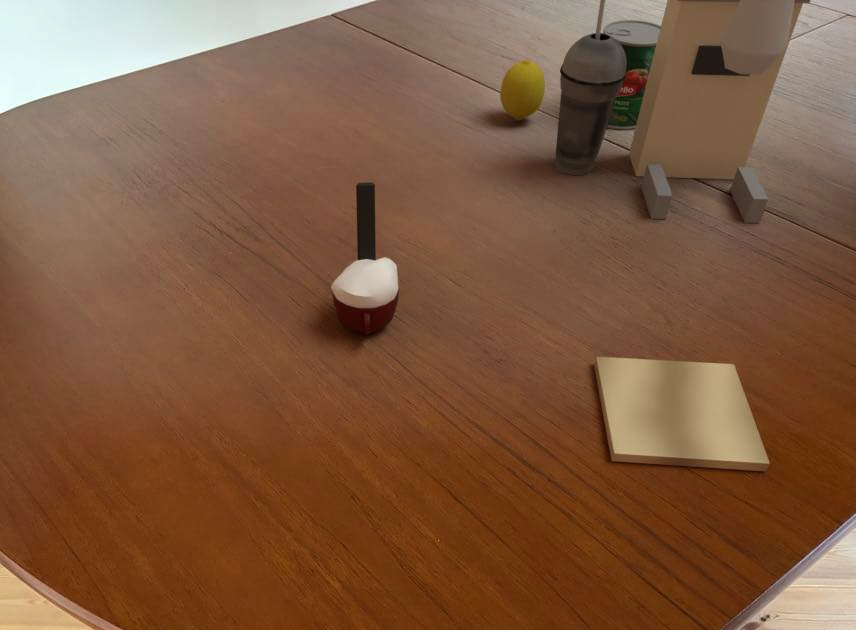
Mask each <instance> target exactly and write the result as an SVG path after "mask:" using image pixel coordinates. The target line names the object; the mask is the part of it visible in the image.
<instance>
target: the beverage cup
mask: <svg viewBox="0 0 856 630" xmlns="http://www.w3.org/2000/svg"><path fill="white" fill-rule="evenodd" d="M605 5H606V0H600V3H599V9H598V15H597V21H596V29H595V32H594V33H589V34H586V35H584V36H582V37H581V38H579V39H578V40H577V41H575V42H574V43H573V44H572V45H571V46H570V47H569V49H568V50H567V52H566V54H565V56H564V59H563V61H562V64H561V66H560V68H559V74H560V78H559V79H560V80H559V81H560V82H559V83H560V85H559V87H560V90H561V91H560V99H559V100H560V102H559V111H558V123H557V134H556V142H555V143H556V144H555V164H554V166H555V168H556V169H557V170H558V171H559V172H561V173H563V174H565V175H570V176H583V175H587V174H589V173H591V172H592V171H593V169H594V165H595V163H596V160H597V159H598V156H599V153H600V151H601V147H602V144H603V140H604V137H605V134H606V131H607V129H608V128H607V125H608V122H609V119H610V115H611V112H612V109H613V106H614V103H615V100H616V97H617V95H618V94H619V92H620V89H621V87H622V85H623V81H624V80H625V79H626V55H625V52H624V49H623V48H622V46H621V44H620V43H619V42H618V41H617V40H616V39H615V38H613V37H612V36H610V35H607V34H604V33H603V32H602V24H603V19H604V10H605Z"/></svg>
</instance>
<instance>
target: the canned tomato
mask: <svg viewBox="0 0 856 630" xmlns="http://www.w3.org/2000/svg"><path fill="white" fill-rule="evenodd" d="M660 28H661V25H660V24H657V23H655V22H651V21H645V20H640V19H639V20H638V19H624V20H623V19H622V20H616V21H612V22H609V23H607V24H606V25H605V26H604V27H603V29H602V33H604V34H607V35H610V36H612V37H613V38H615V39H616V40H617V41H618V42H619V43H620V44H621V46H622V48H623V49H624V52H625V55H626V79H625V80H624V81H623V85H622V87H621V89H620V92H619V94H618V95H617V97H616V100H615V103H614V106H613V109H612V112H611V115H610V119H609V122H608V125H607V128H606V129H612V130H619V131H620V130H635V128H636V124H637V120H638V116H639V112H640V108H641V104H642V100H643V96H644V92H645V88H646V84H647V80H648V76H649V72H650V68H651V64H652V60H653V56H654V52H655V48H656V44H657V40H658V36H659V32H660Z"/></svg>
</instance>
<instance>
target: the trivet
mask: <svg viewBox="0 0 856 630" xmlns="http://www.w3.org/2000/svg"><path fill="white" fill-rule="evenodd" d="M593 367H594V368H593V369H594V372H595V378H596V384H597V389H598V394H599V400H600V405H601V411H602V416H603V422H604V427H605V434H606V438H607V444H608V449H609V454H610V460H611V462H617V463H629V464H631V463H632V464H647V465H659V466H660V465H661V466H663V465H664V466H675V467H676V466H677V467H678V466H679V467H690V468H691V467H693V468H706V469H707V468H708V469H719V470H720V469H722V470H736V471H752V472H754V471H755V472H767V470H768V469H769V466H770V464H771V463H770V459H769V456H768V454H767V451H766V448H765V446H764V442H763V441H762V438H761V434H760V432H759V429H758V426H757V424H756V421H755V418H754V416H753V412H752V410H751V407H750V404H749V402H748V398H747V396H746V394H745V391H744V387H743V385H742V383H741V379H740V376H739V374H738V371H737V369H736V366H735V364H734V363H720V362H715V363H714V362H702V361H701V362H700V361H682V360H667V359H666V360H665V359H646V358H630V357H629V358H628V357H609V356H595V360H594V363H593Z"/></svg>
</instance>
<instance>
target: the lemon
mask: <svg viewBox="0 0 856 630" xmlns="http://www.w3.org/2000/svg"><path fill="white" fill-rule="evenodd" d="M545 91H546V80H545V75H544V73H543V71H542V69H541V68H540V66H539V65H538V64H536V63H535V62H534V61H533V62H532V61H531V60H530V59H529V58H525V59H524V60H521V61H519V62H516V63H514V64H513V65H511V67H509V68H508V70H507V71H506V72H505V74H504V77H503V79H502V82H501V86H500V95H499V96H500V103H501V106H502V108H503V109H504V112H506V113H507V114H508V115H509V116H511V117H513V118H514V119H515V120H516V121H521V120H522V119H524V118H528V117H530V116H531V115H533V114H534V113H536V112H537V110H539V108H540V106H541V105H542V102H543V100H544V97H545V96H544V95H545V93H546V92H545Z"/></svg>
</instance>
